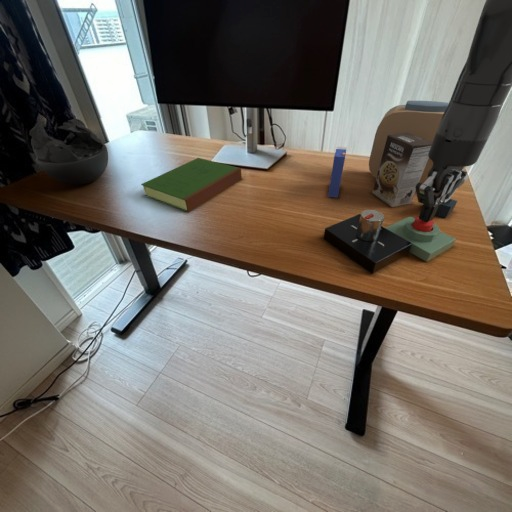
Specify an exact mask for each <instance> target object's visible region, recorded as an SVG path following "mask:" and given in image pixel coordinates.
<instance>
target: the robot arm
mask: <svg viewBox="0 0 512 512" xmlns="http://www.w3.org/2000/svg"><path fill="white" fill-rule="evenodd" d="M482 7H483V8H482V10H481V13H480V16H479V19H478V23H477V25H476V28H475V32H474V34H473V38H472V41H471V43H470V44H471V45H470V47H469V51H468V54H467V58H466V61H465V63H464V65H463V67H462V68H461V69H462V70H461V71H460V74H459V76H458V78H457V81H456V83H455V87H454V89H453V91H452V94H451V98H450V100H449V102H448V103H449V104H448V106H447V108H446V110H445V112H444V114H443V116H442V118H441V121H440V124H439V127H438V129H437V132H436V134H435V137H434V140H433V143H432V145H431V148H430V151H429V153H428V157H429V158H430V159H431V160H432V161H433V166H432V168H431V169H430V171H429V172H428V176H427V178H428V179H427V180H426V181H425V182H424V183H420V182H419V183H418V184H417V185H416V187H415V188H416V191H415V194H416V198H417V203H419V204H421V205H422V207H421V210H420V213H419V215H418V217H419V219H420V220H422V221H424V222H429V221H431V220H433V221H434V218H435V216H436V215H435V213H436V211H437V209H438V207H439V205H441V204H442V203H443V201H444V199H446V200H447V199H448V198H449V197H450V195H451V194H452V193H453V191H454V190H455V189H456V188H457V186H458V185H459V184H460V182H461V181H462V180H463V179H464V177H465V176H466V175H467V174H468V172H467V171H465V170H464V168H466V167H471V166H474V165H475V164H476V163H477V162H478V160H479V158H480V156H481V154H482V152H483V150H484V148H485V146H486V144H487V142H488V140H489V137H490V136H491V133H492V132H493V130H494V128H495V126H496V123H497V121H498V119H499V117H500V113H501V110H502V108H503V105H504V103H505V101H506V99H507V97H508V95H509V93H510V91H511V89H512V0H485V2H484V5H483V6H482ZM462 170H464V171H462ZM457 189H458V188H457ZM457 189H456V190H457ZM456 190H455V191H456Z"/></svg>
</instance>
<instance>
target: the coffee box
mask: <svg viewBox="0 0 512 512" xmlns="http://www.w3.org/2000/svg"><path fill="white" fill-rule="evenodd" d="M432 143H433V142H430V141H428V140H425V139H423V138H420V137H417V136H415V135H412V134H410V133H399V134H391V135H388V136H387V140H386V144H385V147H384V151H383V155H382V159H381V162H380V166H379V170H378V173H377V177H376V178H375V181H374V185H373V188H372V192H371V193H372V194H373V195H375V196H376V197H377V198H379V199H380V200H381V201H383V202H384V203H385V204H387V205H389V206H390V207H391V208H397V207H400V206H405V205H410V204H411V205H412V201H413V198H414V196H415V194H416V188H415V187H416V185H417V184H418V183H419V181H420V178H421V176H422V173H423V171H424V168H425V166H426V163H427V161H428V158H429V157H428V153H429V151H430V148H431V145H432Z"/></svg>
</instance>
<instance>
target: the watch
mask: <svg viewBox="0 0 512 512" xmlns="http://www.w3.org/2000/svg"><path fill="white" fill-rule="evenodd" d="M462 171H465V170H464V169H462ZM468 179H469V175H468V173H467V175H466V176H465V177H464V179H463V180H462V181H461V182H460V184H459V185H458V186H457V188H456V189H455V190H454V191H453V193H452V194H451V195H450V197H449V198H448V199H447V200H446V199H444V201H443V203H442V204H441V205H439V207H438V209H437V211H436V213H435V215H434V216H437V217H440V218H442V219H443V218H444V219H446V218H447V217H449V216H450V214H451V213H452V212H453V211H454V209H455V207H456V205H457V203H458V200H456V199H453V198H452V197H453V195H454V194H455V192H456V190H457V189H460V187H462V186H463V185H464V184H465V183H466V182H467V181H468Z"/></svg>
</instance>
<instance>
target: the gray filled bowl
mask: <svg viewBox="0 0 512 512" xmlns="http://www.w3.org/2000/svg"><path fill="white" fill-rule="evenodd" d="M57 129H59V130H62V131H66V132H68V133H69V132H70V133H69V134H68V135H67V136H66V137H65V139H64V141H63V140H59V139H57V138H54V137H52V136H49V134H48V133H47V132H46V130H45V122H44V121H43V120H38V121H37V122H36V123H35V124H34V126H33V128H31V129H30V130H29V134H28V136H31V139H30V144H31V147H32V151H33V152H34V155H35V162H36V164H37V165H38V166H39V168H40V169H41V170H42V171H43V172H44V173H45V174H47V175H48V176H49V177H50V178H53V179H54V180H56V181H59V182H61V183H64V184H68V185H74V186H76V185H77V186H81V185H87V184H91V183H93V182H95V181H97V180H98V179H99V178H100V177H102V175H104V173H105V172H106V169H107V167H108V163H109V152H108V151H109V150H108V147H107V145H106V144H105V143H104V142H103V141H102V139H101V138H98V136H97V135H96V133H94V132H93V131H92V130H91V129H90V128H88V127H86V124H85V123H84V122H83V120H80V119H78V118H73V119H69V120H67V122H66V121H64V122H63V123H62V125H60V126H58V127H57Z"/></svg>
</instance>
